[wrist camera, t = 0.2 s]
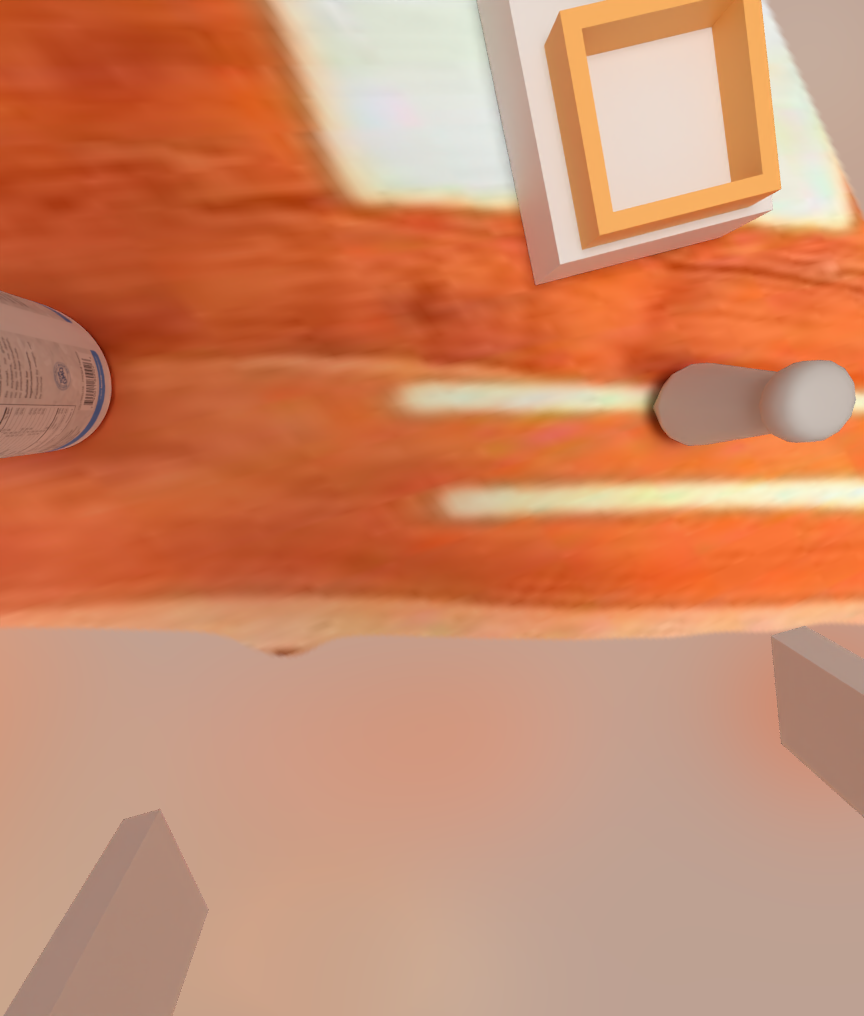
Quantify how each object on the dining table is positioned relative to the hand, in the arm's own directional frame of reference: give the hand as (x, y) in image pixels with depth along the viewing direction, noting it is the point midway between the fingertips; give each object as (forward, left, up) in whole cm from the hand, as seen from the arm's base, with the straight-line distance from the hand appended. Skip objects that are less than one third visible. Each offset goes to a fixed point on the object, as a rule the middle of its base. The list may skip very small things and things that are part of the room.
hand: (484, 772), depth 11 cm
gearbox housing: (-24, +20, -28) cm, 42 cm away
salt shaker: (-3, +22, -28) cm, 36 cm away
